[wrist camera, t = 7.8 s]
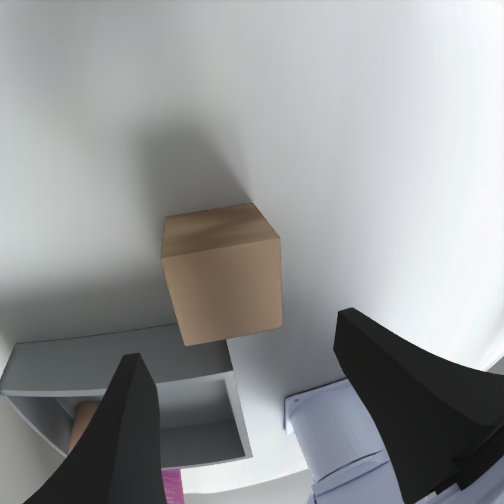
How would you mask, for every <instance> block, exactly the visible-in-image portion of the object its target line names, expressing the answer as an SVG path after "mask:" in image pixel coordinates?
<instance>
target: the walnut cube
mask: <svg viewBox="0 0 504 504" xmlns="http://www.w3.org/2000/svg"><path fill="white" fill-rule="evenodd" d="M161 262H162V266H163V270H164V274H165V278H166V282H167V286H168V289H169V293H170V297H171V300H172V304H173V307H174V311H175V314H176V318H177V321H178V325H179V328H180V331H181V334H182V338H183V341H184V344H185V346H190V345H196V344H201V343H207V342H213V341H218V340H223V339H229V338H234V337H239V336H244V335H249V334H253V333H258V332H263V331H267V330H272V329H276V328H280V327H283V326H282V284H281V253H280V237H279V236H278V235H277V233H276V232H275V231H274V229H273V228H272V227H271V225H270V224H269V223H268V222H267V220H266V219H265V218H264V216H263V215H262V214H261V212H260V211H259V210H258V209H257V207H256V206H255V205H254V203H250V204H244V205H237V206H230V207H224V208H218V209H212V210H205V211H199V212H194V213H188V214H182V215H176V216H171V217H165V224H164V232H163V240H162V249H161Z"/></svg>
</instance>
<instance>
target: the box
mask: <svg viewBox="0 0 504 504" xmlns="http://www.w3.org/2000/svg"><path fill="white" fill-rule="evenodd" d="M161 472H162V479H163V485H164V490H165V495H166V500H167V504H185V503H184V495H183V488H182V480H181V472H180V469H172V470H161Z"/></svg>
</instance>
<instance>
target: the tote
mask: <svg viewBox="0 0 504 504" xmlns="http://www.w3.org/2000/svg"><path fill="white" fill-rule="evenodd" d="M133 353H140V354H141V356H142V359H143V361H144V363H145V365H146V367H147V369H148V371H149V373H150V375H151V377H152V379H153V381H154V383H155V385H156V387H157V392H158V400H159V409H160V456H161V470H172V469H183V468H192V467H200V466H207V465H214V464H220V463H226V462H232V461H237V460H242V459H247V458H252V457H253V455H252V451H251V447H250V443H249V438H248V434H247V430H246V426H245V421H244V417H243V412H242V408H241V403H240V399H239V394H238V390H237V385H236V380H235V376H234V371H233V367H232V363H231V359H230V355H229V351H228V346H227V342H226V339H223V340H218V341H213V342H207V343H201V344H196V345H190V346H185V344H184V341H183V338H182V334H181V331H180V328H179V325H178V323H177V324H171V325H165V326H159V327H153V328H147V329H140V330H133V331H127V332H120V333H112V334H105V335H97V336H89V337H81V338H72V339H63V340H54V341H44V342H33V343H20V344H16V345H15V347H14V349H13V351H12V353H11V355H10V358H9V360H8V362H7V365H6V367H5V369H4V372H3V374H2V376H1V379H0V394H1V396H2V397H3V398H4V399H5V400H6V401H7V402H8V403H9V404H10V406H11V407H12V408H13V409H14V410H15V411H16V412H17V413H18V414H19V415H20V416H21V417H22V419H24V421H25V422H26V423H28V425H29V426H30V427H31V428H33V429H34V431H36V432H37V433H38V434H39V435H40V436H41V437H42V438H43V439H44V440H45V441H46V442H47V443H49V444H50V445H51V446H52V447H53V448H54V449H55V450H57V451H58V452H59V453H60V454H61V455H63V456H64V457H65V458H66V457H67V456H68V453H69V446H70V439H71V432H72V426H73V420H74V415H75V410H76V406H77V405H78V404H79V403H81V402H85V401H95V402H101V400H102V398H103V396H104V394H105V392H106V390H107V388H108V386H109V384H110V382H111V380H112V377H113V375H114V373H115V371H116V369H117V367H118V365H119V363H120V361H121V359H122V357H123V355H125V354H133Z"/></svg>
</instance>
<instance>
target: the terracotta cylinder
mask: <svg viewBox="0 0 504 504" xmlns="http://www.w3.org/2000/svg"><path fill="white" fill-rule="evenodd" d="M99 404H100V402H95V401H85V402H81V403H79V404H78V405H77V406H76V410H75V415H74V420H73V426H72V432H71V439H70V446H69V453H70V452H71V450H72V449H73V448H74V446H75V445H76V443H77V442H78V440H79V439H80V437H81V436H82V434H83V432H84V431H85V429H86V427H87V426H88V424H89V422H90V420H91V418H92V417H93V415H94V413H95V411H96V409H97V408H98V406H99ZM69 453H68V455H69Z"/></svg>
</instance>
